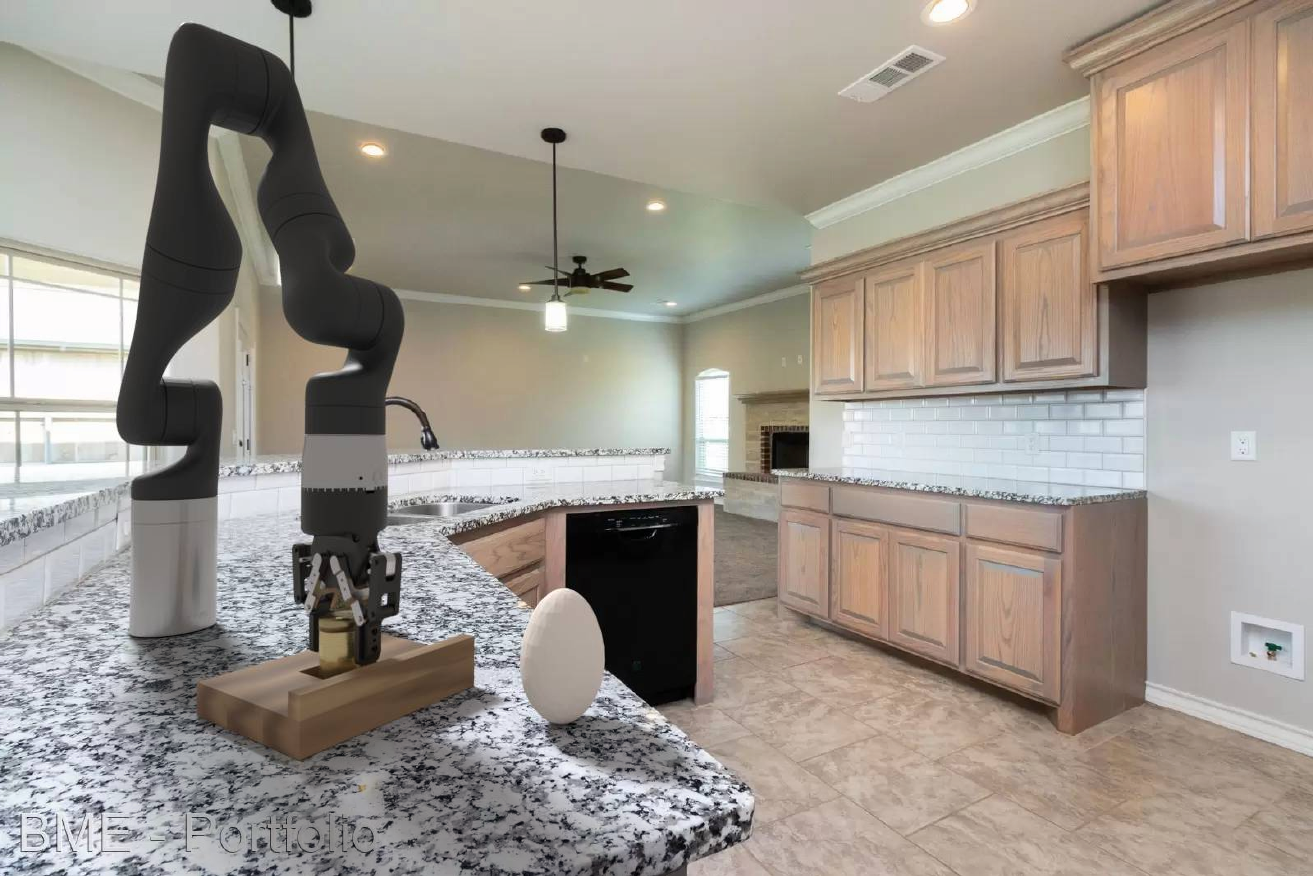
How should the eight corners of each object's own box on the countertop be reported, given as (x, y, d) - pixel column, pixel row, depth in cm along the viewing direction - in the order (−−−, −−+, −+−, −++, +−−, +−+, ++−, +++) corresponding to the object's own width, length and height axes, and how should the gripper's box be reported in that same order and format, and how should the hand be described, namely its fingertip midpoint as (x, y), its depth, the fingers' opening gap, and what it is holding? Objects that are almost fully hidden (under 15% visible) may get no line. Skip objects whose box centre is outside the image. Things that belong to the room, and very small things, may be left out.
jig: (196, 715, 58) (197, 659, 58) (373, 658, 73) (374, 614, 73) (299, 760, 50) (299, 695, 50) (474, 685, 65) (474, 636, 65)
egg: (557, 749, 52) (558, 603, 52) (502, 723, 56) (503, 589, 57) (621, 719, 57) (622, 588, 57) (566, 698, 62) (566, 576, 62)
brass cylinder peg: (308, 702, 61) (309, 617, 61) (348, 688, 64) (349, 608, 64) (334, 712, 59) (335, 624, 59) (374, 696, 62) (375, 614, 62)
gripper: (264, 481, 62) (262, 654, 62) (356, 487, 55) (355, 683, 55) (336, 478, 69) (335, 634, 68) (428, 483, 61) (426, 658, 61)
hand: (344, 655), depth 62 cm, fingers open, 6 cm apart
